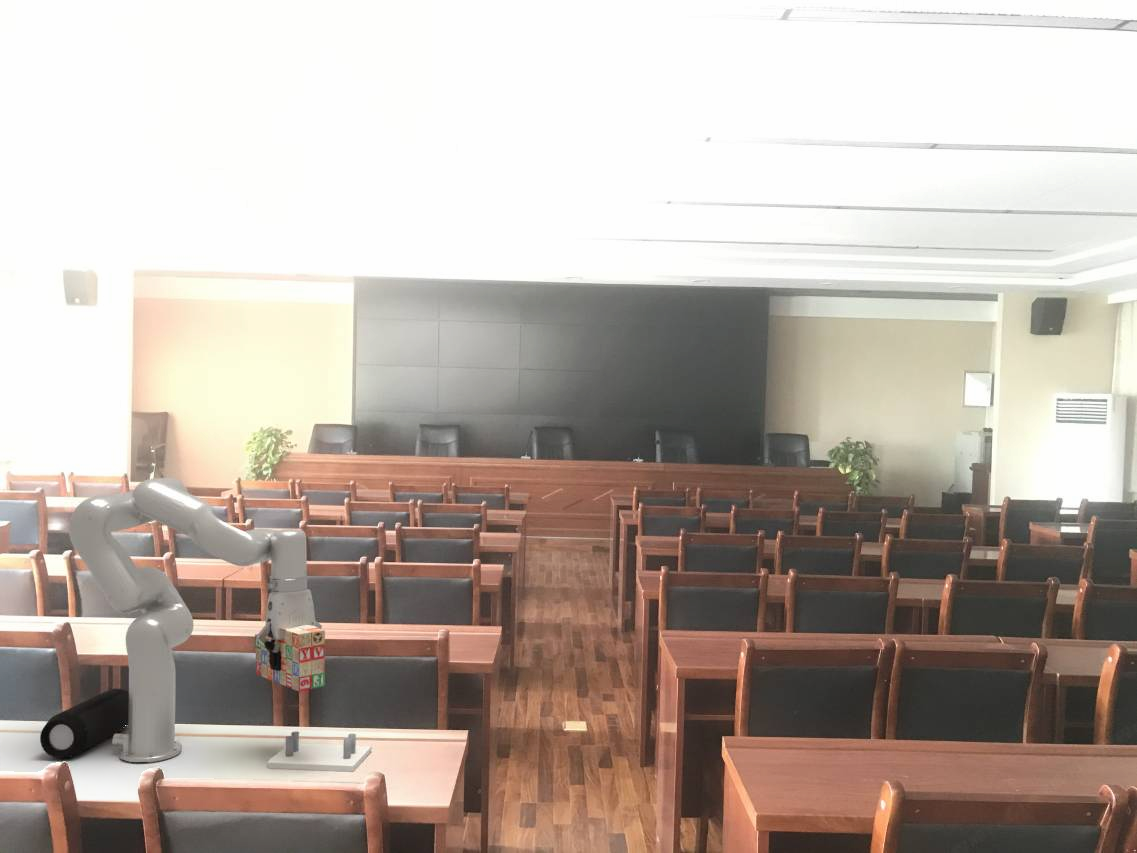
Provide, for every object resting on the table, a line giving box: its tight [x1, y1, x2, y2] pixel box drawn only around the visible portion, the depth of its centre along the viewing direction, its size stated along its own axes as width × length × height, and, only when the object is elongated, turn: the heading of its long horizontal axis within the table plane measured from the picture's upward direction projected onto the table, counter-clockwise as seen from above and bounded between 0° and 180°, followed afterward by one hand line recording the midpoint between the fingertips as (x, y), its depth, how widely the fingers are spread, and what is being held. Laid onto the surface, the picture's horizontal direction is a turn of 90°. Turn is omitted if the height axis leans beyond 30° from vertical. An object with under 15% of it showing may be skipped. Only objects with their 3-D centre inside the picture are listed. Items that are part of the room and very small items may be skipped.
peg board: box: [266, 731, 372, 773], centre depth 203 cm, size 19×13×5 cm
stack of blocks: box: [254, 625, 326, 692], centre depth 205 cm, size 21×6×12 cm, turn 43°
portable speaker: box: [39, 687, 129, 759], centre depth 213 cm, size 26×10×10 cm, turn 176°
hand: (290, 665), depth 204 cm, fingers closed on stack of blocks, 6 cm apart
